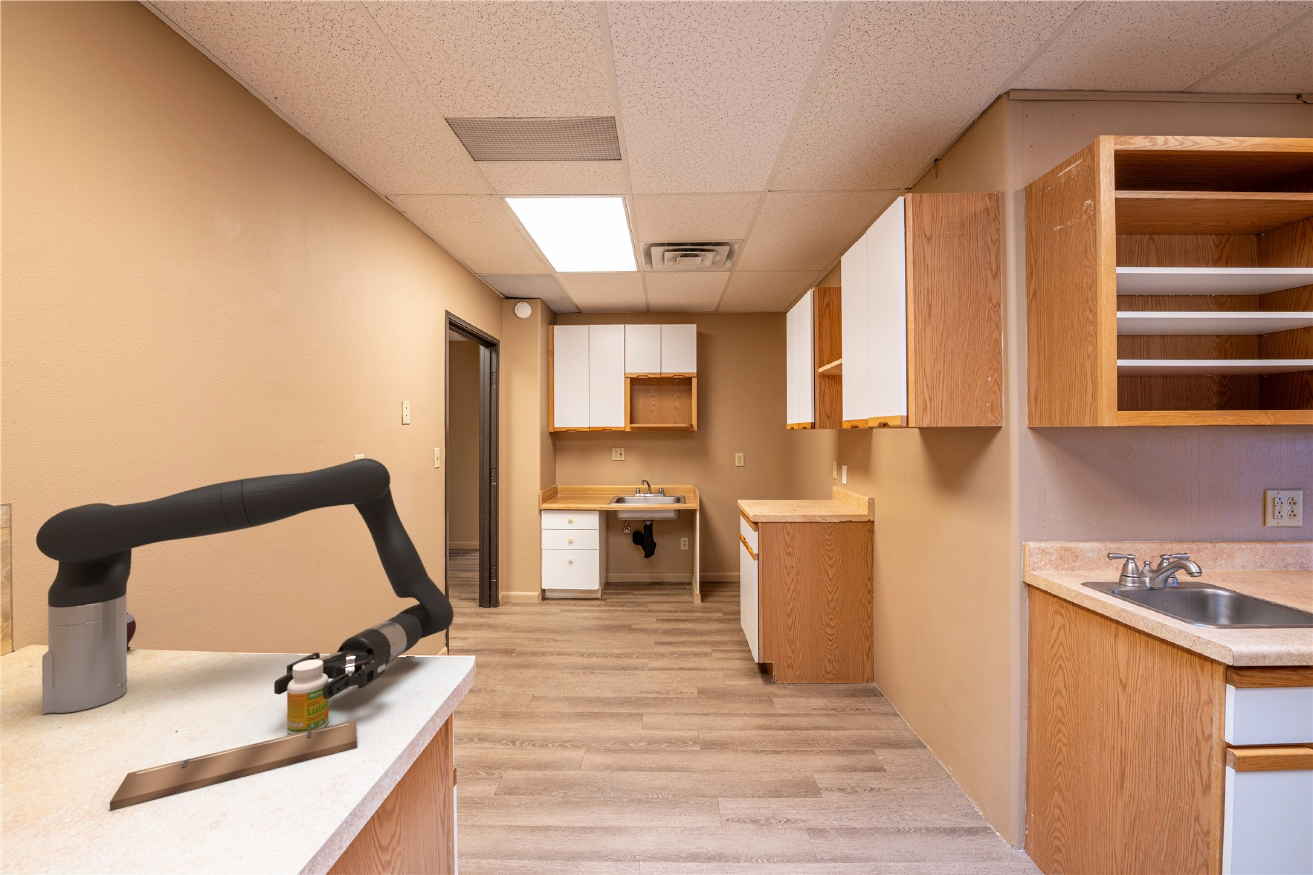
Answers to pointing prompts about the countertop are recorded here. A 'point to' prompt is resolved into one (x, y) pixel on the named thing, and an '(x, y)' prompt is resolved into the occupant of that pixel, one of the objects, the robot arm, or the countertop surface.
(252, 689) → the countertop surface
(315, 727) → the supplement bottle
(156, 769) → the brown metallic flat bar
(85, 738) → the countertop surface
